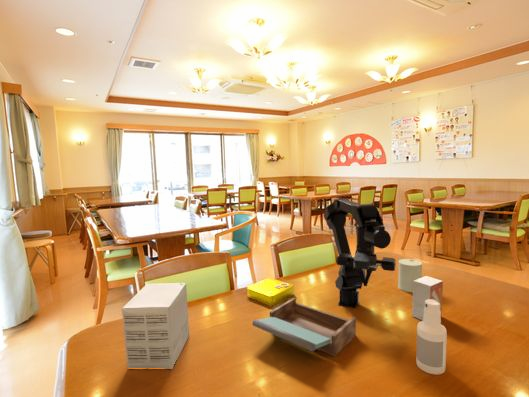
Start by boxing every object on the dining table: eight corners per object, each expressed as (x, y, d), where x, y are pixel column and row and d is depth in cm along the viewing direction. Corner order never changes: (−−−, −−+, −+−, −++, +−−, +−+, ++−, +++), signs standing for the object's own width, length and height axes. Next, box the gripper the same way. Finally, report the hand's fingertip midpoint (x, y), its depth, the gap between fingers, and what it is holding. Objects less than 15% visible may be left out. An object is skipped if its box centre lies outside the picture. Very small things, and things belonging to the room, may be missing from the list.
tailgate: (273, 315, 103) (252, 319, 95) (330, 337, 89) (312, 344, 81) (272, 321, 102) (252, 326, 95) (329, 344, 89) (311, 352, 81)
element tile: (269, 286, 141) (269, 275, 140) (295, 294, 131) (295, 283, 130) (245, 297, 130) (244, 286, 130) (272, 307, 120) (271, 295, 119)
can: (422, 286, 134) (423, 259, 133) (420, 294, 126) (421, 265, 125) (399, 282, 139) (400, 256, 138) (396, 290, 131) (396, 262, 130)
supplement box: (150, 335, 102) (146, 282, 100) (190, 335, 102) (187, 282, 100) (125, 370, 85) (119, 307, 83) (173, 370, 85) (169, 307, 82)
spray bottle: (411, 359, 86) (412, 297, 84) (434, 357, 86) (436, 295, 84) (425, 376, 79) (427, 308, 77) (451, 374, 79) (454, 307, 77)
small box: (429, 323, 104) (430, 286, 102) (411, 316, 109) (412, 280, 108) (442, 316, 108) (443, 280, 107) (424, 309, 114) (425, 275, 112)
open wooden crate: (293, 313, 114) (293, 297, 113) (355, 335, 98) (355, 317, 98) (270, 328, 104) (269, 311, 103) (334, 356, 88) (334, 336, 88)
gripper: (331, 244, 102) (332, 290, 104) (393, 249, 94) (392, 299, 95) (340, 237, 112) (340, 279, 114) (396, 241, 104) (395, 286, 105)
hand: (365, 285), depth 107 cm, fingers closed
